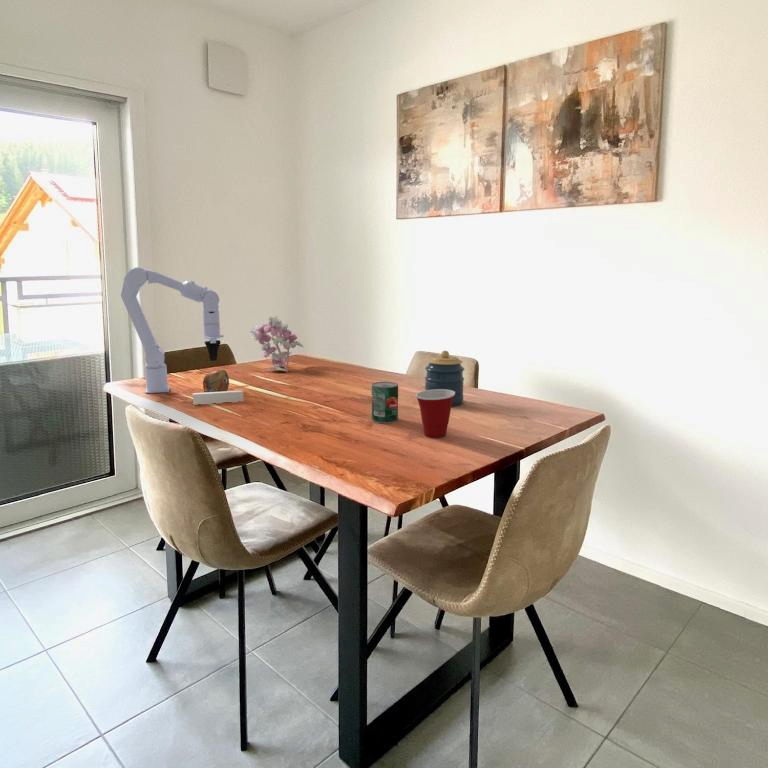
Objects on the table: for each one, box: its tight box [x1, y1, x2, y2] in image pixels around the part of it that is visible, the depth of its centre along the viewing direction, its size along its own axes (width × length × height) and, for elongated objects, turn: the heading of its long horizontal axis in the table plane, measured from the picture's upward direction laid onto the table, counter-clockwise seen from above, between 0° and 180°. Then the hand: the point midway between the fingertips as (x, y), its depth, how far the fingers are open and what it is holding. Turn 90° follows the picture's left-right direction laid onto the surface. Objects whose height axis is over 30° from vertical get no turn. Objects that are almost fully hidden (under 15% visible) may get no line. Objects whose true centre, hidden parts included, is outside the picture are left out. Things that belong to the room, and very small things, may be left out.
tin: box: [202, 369, 230, 393], centre depth 213 cm, size 15×3×8 cm, turn 168°
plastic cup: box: [414, 389, 455, 439], centre depth 165 cm, size 11×11×12 cm
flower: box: [249, 315, 304, 373], centre depth 262 cm, size 20×22×25 cm
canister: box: [424, 350, 465, 407], centre depth 203 cm, size 13×13×18 cm
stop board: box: [192, 389, 244, 406], centre depth 202 cm, size 2×16×4 cm, turn 108°
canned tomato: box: [371, 381, 399, 424], centre depth 180 cm, size 8×8×11 cm
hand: (213, 360), depth 225 cm, fingers closed
